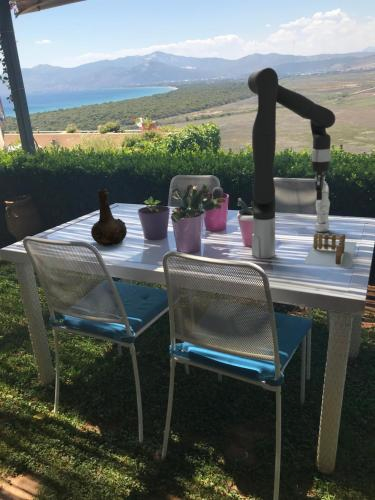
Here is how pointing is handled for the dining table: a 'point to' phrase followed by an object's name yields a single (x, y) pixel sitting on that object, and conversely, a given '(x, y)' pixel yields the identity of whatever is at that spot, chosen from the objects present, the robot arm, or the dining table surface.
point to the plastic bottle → (322, 213)
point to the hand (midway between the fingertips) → (319, 199)
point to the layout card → (331, 255)
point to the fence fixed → (340, 249)
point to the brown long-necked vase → (107, 224)
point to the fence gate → (325, 241)
